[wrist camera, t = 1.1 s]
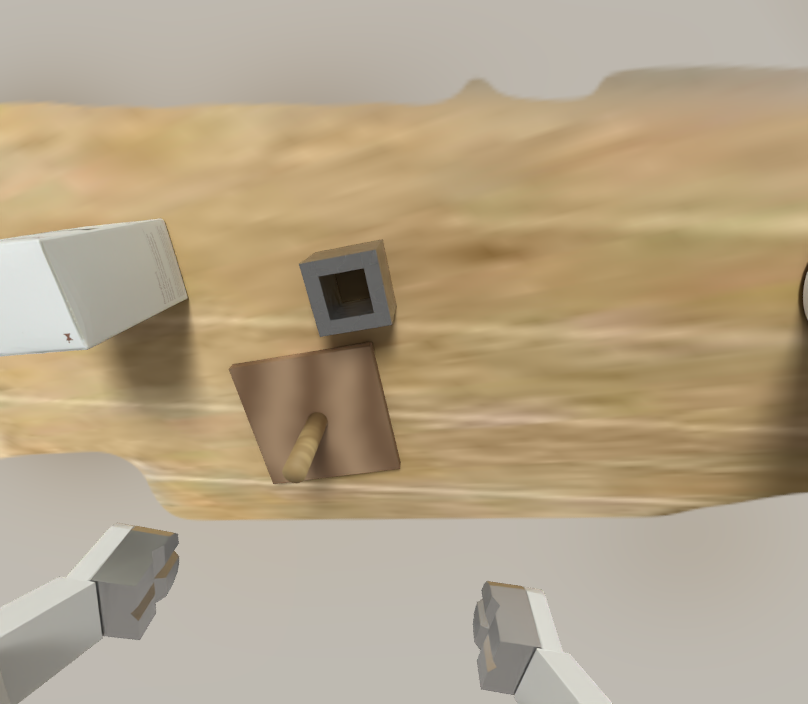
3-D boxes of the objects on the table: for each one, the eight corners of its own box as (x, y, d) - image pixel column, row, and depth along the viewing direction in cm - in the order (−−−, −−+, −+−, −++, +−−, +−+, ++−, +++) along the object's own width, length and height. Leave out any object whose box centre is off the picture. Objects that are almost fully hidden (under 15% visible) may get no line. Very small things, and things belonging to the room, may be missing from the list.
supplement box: (165, 216, 36) (40, 237, 25) (190, 299, 39) (89, 354, 27) (85, 223, 37) (-74, 247, 25) (115, 305, 40) (-15, 360, 28)
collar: (382, 239, 36) (375, 249, 31) (396, 306, 38) (392, 324, 34) (315, 252, 37) (298, 264, 32) (332, 317, 39) (319, 336, 34)
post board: (371, 341, 40) (356, 386, 31) (400, 462, 45) (393, 528, 37) (233, 364, 41) (184, 412, 33) (276, 477, 47) (243, 543, 38)
